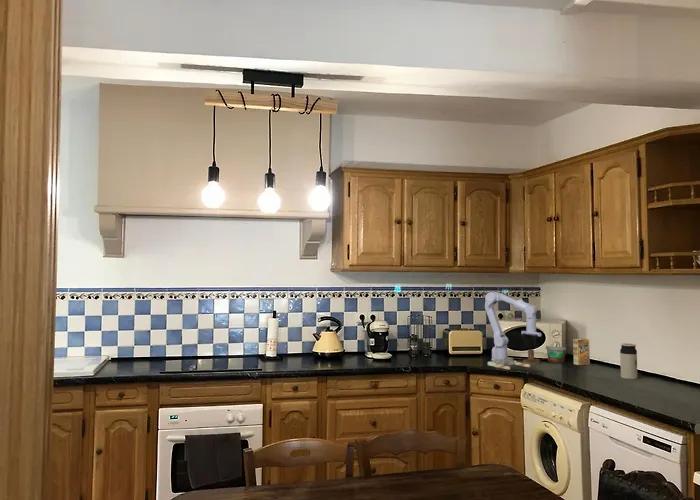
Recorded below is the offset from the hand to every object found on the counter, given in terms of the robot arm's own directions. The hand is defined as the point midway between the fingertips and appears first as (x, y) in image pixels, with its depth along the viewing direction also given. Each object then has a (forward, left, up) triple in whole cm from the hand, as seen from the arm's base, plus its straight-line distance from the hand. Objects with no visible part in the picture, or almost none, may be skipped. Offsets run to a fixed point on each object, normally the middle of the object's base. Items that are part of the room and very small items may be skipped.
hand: (531, 347), depth 345 cm
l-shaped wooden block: (+1, -1, -10) cm, 11 cm away
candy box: (+16, +26, -11) cm, 32 cm away
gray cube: (-6, -13, -10) cm, 18 cm away
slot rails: (+2, -17, -10) cm, 20 cm away
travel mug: (+58, +12, -11) cm, 60 cm away
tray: (-7, -17, -10) cm, 21 cm away
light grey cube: (-6, -21, -10) cm, 24 cm away
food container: (+3, +18, -11) cm, 21 cm away
